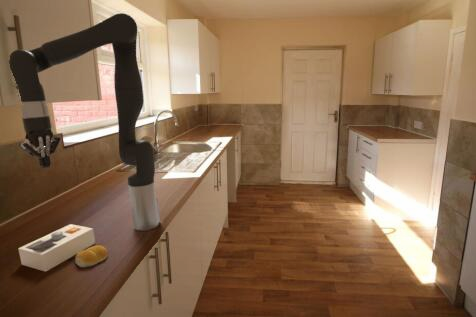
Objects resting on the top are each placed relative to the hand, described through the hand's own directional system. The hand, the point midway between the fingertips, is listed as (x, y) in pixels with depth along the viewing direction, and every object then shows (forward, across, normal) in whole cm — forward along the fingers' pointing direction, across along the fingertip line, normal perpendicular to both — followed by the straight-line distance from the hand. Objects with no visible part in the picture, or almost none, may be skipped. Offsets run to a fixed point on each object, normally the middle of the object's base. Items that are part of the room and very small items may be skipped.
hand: (45, 167), depth 104 cm
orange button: (+24, +1, +9) cm, 25 cm away
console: (+27, +6, +8) cm, 29 cm away
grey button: (+22, +6, +9) cm, 25 cm away
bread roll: (+27, +5, +22) cm, 35 cm away
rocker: (+21, +12, +8) cm, 25 cm away
